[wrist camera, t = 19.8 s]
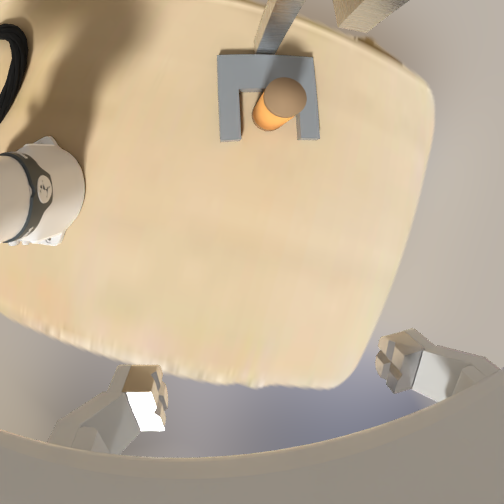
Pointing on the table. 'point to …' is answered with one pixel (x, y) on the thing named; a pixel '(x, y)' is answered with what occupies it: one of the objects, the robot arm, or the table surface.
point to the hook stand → (346, 9)
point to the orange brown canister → (279, 103)
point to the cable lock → (13, 65)
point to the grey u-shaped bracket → (263, 89)
